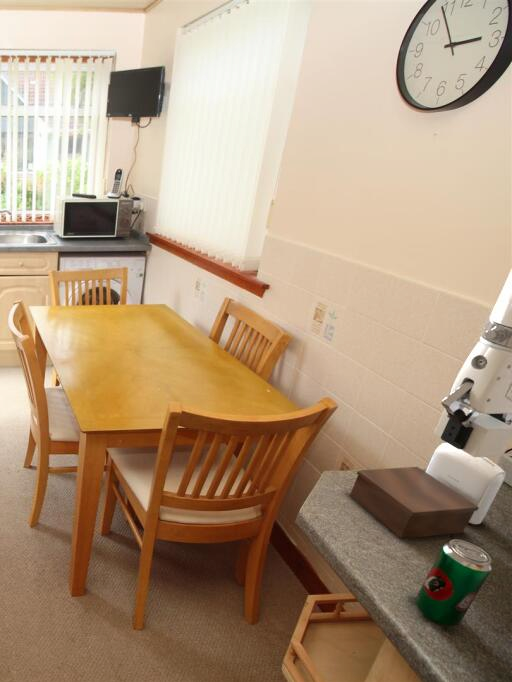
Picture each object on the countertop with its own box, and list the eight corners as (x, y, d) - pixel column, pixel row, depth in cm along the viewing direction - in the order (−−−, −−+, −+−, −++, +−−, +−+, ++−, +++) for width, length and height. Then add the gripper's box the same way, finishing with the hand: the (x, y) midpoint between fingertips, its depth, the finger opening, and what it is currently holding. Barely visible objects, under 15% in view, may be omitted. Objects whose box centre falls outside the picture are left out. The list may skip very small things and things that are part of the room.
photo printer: (411, 490, 96) (436, 438, 91) (427, 487, 97) (452, 435, 92) (469, 527, 86) (499, 471, 82) (486, 523, 87) (517, 468, 83)
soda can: (454, 636, 66) (492, 572, 61) (409, 610, 70) (442, 548, 65) (461, 616, 69) (498, 554, 64) (418, 592, 73) (449, 531, 68)
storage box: (405, 491, 95) (417, 466, 93) (464, 533, 85) (479, 507, 82) (347, 495, 93) (357, 470, 91) (400, 539, 83) (413, 512, 80)
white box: (459, 432, 79) (471, 406, 77) (502, 456, 73) (516, 428, 71) (433, 433, 78) (445, 407, 76) (474, 457, 72) (488, 429, 70)
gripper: (496, 348, 64) (443, 460, 71) (601, 347, 66) (540, 455, 73) (442, 328, 71) (398, 432, 78) (538, 328, 73) (488, 429, 80)
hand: (467, 442), depth 75 cm, fingers closed on white box, 5 cm apart
